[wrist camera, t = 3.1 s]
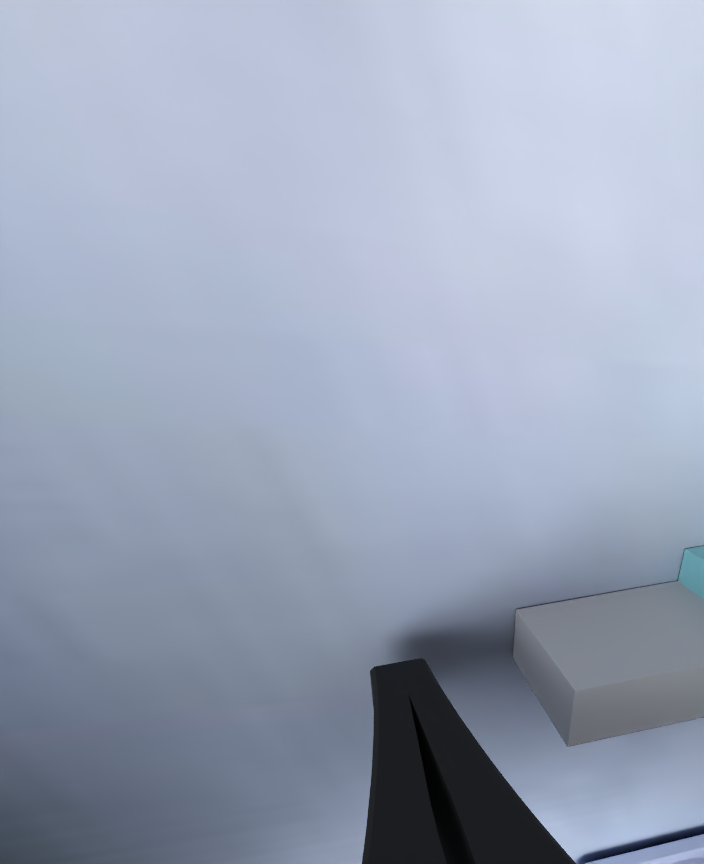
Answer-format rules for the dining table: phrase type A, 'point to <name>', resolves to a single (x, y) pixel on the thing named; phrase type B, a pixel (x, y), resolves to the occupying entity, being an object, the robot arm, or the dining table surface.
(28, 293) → the dining table surface
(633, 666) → the plug
